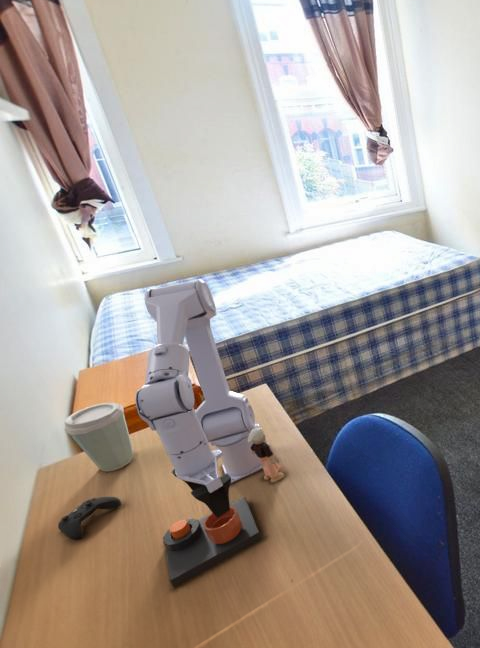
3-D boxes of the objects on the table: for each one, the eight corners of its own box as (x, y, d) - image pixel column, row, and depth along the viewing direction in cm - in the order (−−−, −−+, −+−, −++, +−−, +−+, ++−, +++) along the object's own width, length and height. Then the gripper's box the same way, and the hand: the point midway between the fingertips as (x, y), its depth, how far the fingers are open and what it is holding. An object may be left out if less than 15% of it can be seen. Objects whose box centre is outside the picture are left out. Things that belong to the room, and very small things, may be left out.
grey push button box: (248, 503, 96) (242, 490, 95) (261, 539, 87) (256, 525, 86) (167, 544, 88) (160, 530, 87) (174, 588, 79) (166, 574, 78)
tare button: (189, 523, 88) (186, 516, 87) (191, 532, 86) (188, 525, 85) (172, 532, 87) (168, 525, 86) (173, 541, 85) (170, 534, 84)
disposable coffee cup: (119, 447, 118) (93, 397, 112) (156, 448, 116) (131, 397, 110) (78, 478, 108) (47, 425, 102) (118, 479, 106) (88, 426, 101)
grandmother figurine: (292, 472, 103) (275, 426, 98) (279, 485, 100) (261, 437, 95) (265, 466, 106) (248, 421, 101) (252, 479, 103) (233, 432, 97)
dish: (204, 541, 85) (196, 525, 84) (229, 519, 90) (222, 503, 88) (225, 548, 84) (217, 532, 82) (249, 525, 88) (242, 509, 86)
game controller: (78, 539, 90) (50, 521, 89) (72, 551, 92) (45, 533, 91) (125, 500, 99) (100, 483, 98) (118, 512, 101) (94, 496, 100)
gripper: (229, 445, 77) (254, 506, 82) (195, 417, 86) (220, 474, 91) (182, 471, 72) (212, 534, 77) (151, 438, 81) (180, 497, 86)
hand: (214, 503), depth 84 cm, fingers open, 7 cm apart
